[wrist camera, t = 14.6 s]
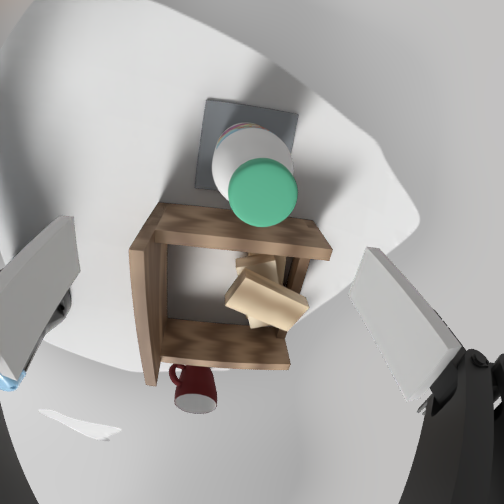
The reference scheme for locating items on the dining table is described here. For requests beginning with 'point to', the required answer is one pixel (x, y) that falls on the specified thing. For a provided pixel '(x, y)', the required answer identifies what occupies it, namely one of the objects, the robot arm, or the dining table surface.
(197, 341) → the rack
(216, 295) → the dining table surface
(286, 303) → the offcut top
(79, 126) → the dining table surface
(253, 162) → the milk bottle
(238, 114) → the mat
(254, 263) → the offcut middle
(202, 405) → the mug
